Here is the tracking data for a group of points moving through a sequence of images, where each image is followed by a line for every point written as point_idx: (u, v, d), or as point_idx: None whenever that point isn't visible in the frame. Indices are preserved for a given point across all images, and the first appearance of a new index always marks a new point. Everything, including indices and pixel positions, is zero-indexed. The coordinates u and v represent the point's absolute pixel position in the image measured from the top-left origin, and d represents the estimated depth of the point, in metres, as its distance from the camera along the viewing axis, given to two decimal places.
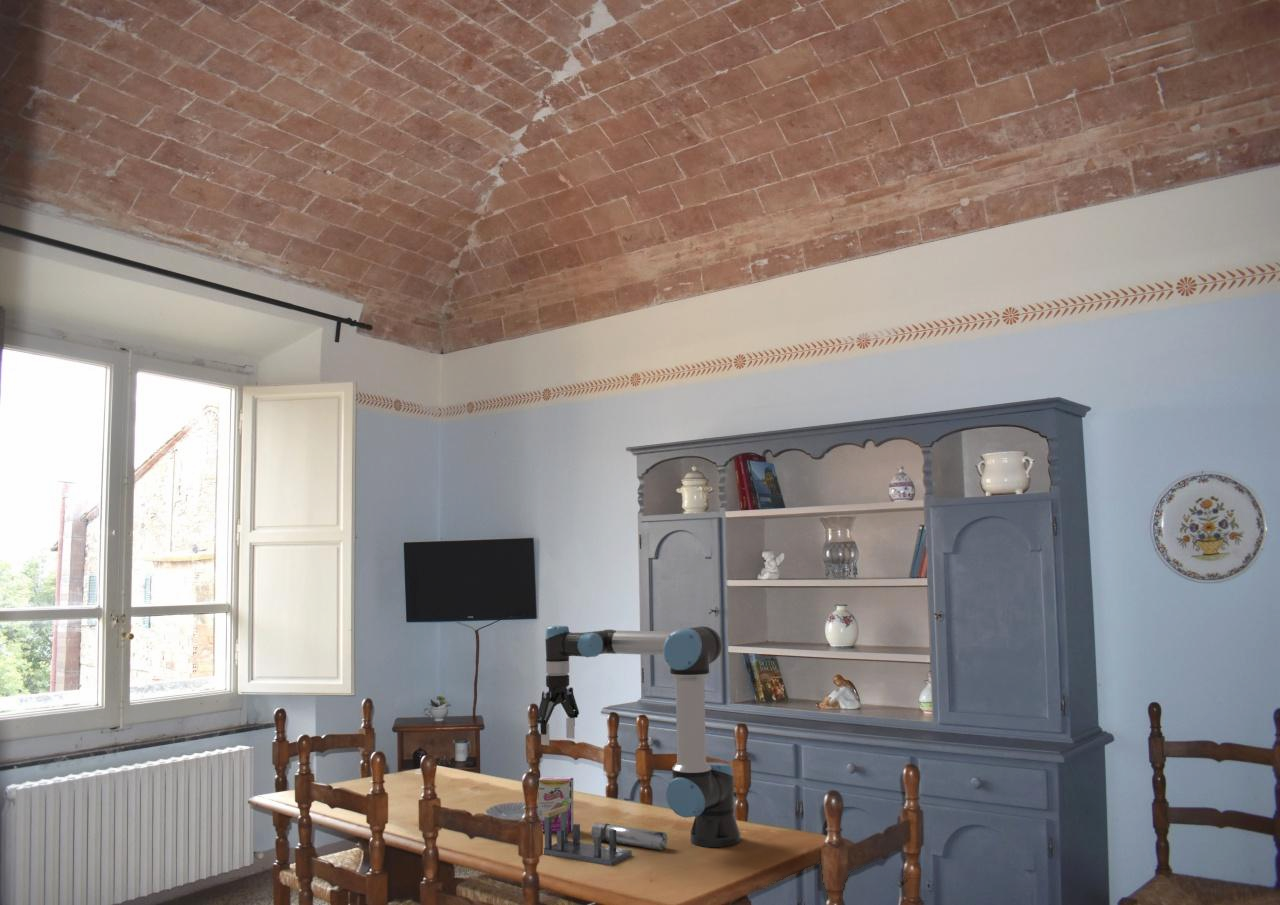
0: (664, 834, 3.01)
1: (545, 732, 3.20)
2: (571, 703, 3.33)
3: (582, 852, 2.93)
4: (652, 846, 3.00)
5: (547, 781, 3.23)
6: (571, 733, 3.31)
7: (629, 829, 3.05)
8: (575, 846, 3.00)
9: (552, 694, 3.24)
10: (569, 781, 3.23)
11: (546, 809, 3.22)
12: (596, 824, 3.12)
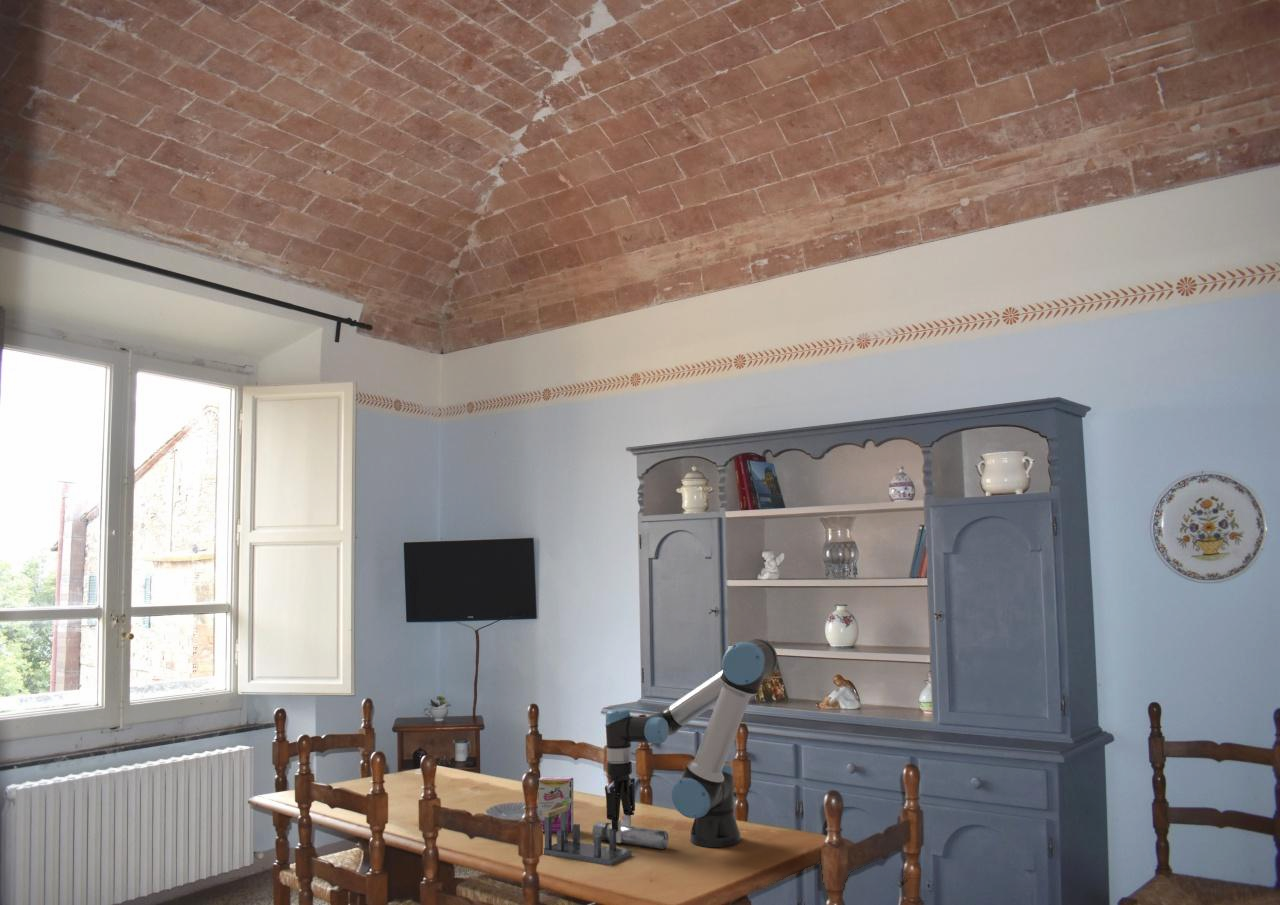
0: (666, 833, 3.02)
1: (617, 829, 3.05)
2: (629, 796, 3.13)
3: (582, 852, 2.93)
4: (653, 843, 3.00)
5: (547, 781, 3.23)
6: None
7: (631, 827, 3.06)
8: (575, 846, 3.00)
9: (615, 785, 3.06)
10: (569, 781, 3.23)
11: (546, 809, 3.22)
12: (598, 822, 3.13)
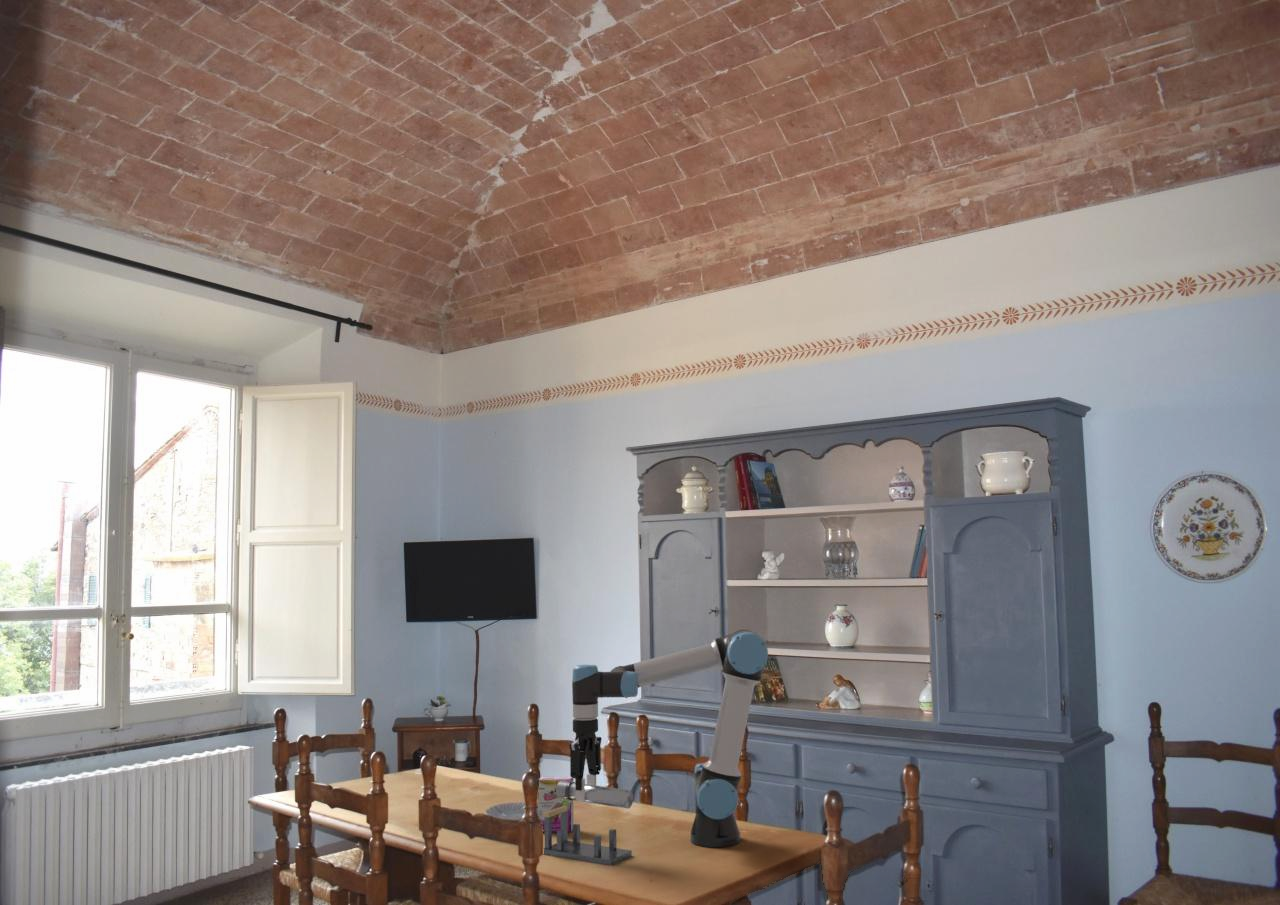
0: (631, 793, 2.91)
1: (580, 788, 2.95)
2: (595, 755, 3.03)
3: (582, 852, 2.93)
4: (617, 802, 2.89)
5: (547, 781, 3.23)
6: None
7: (595, 786, 2.96)
8: (575, 846, 3.00)
9: (580, 742, 2.96)
10: (569, 781, 3.23)
11: (546, 809, 3.22)
12: (562, 781, 3.02)
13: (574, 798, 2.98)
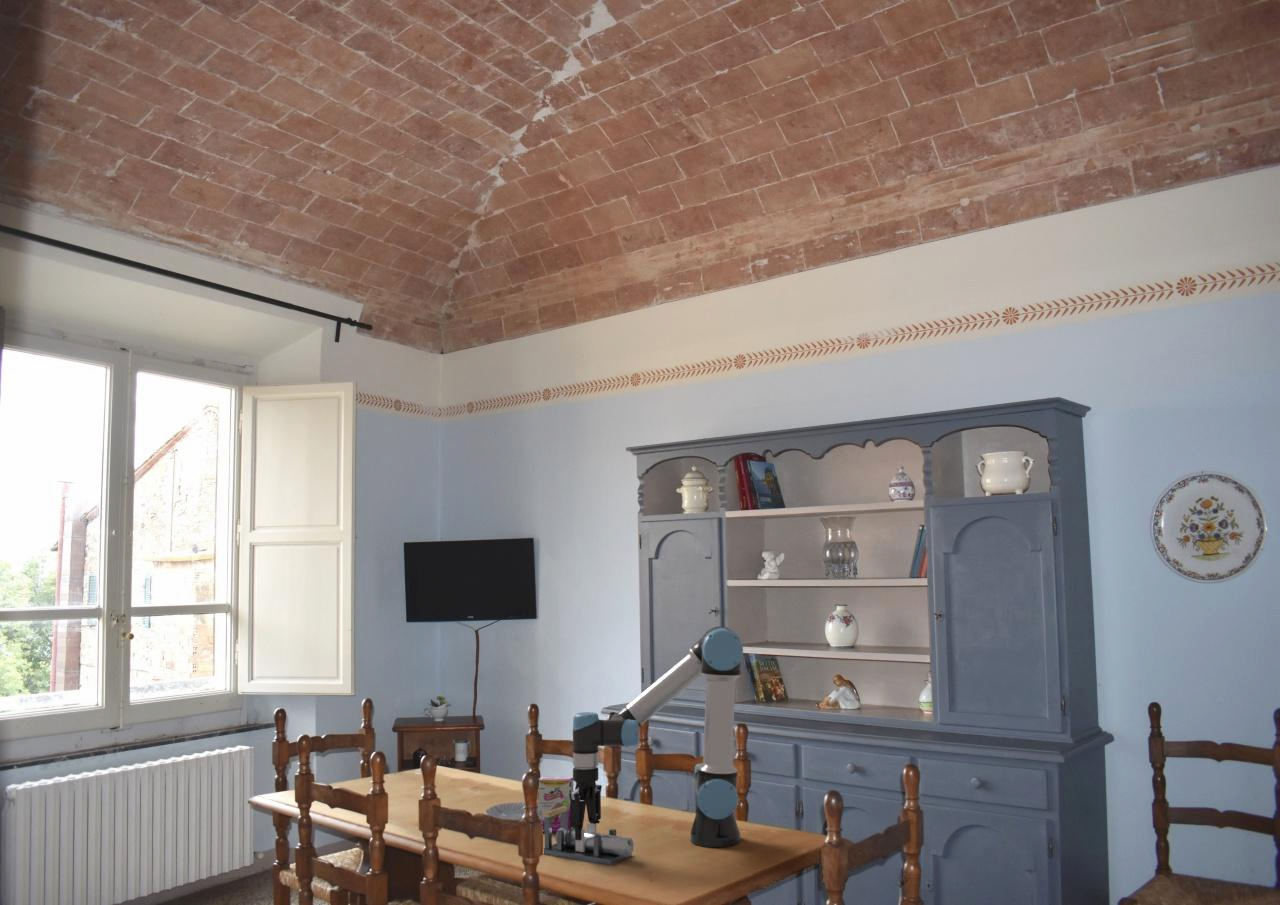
0: (631, 841, 2.90)
1: (580, 838, 2.93)
2: (595, 803, 3.02)
3: (582, 852, 2.93)
4: (617, 851, 2.88)
5: (547, 781, 3.23)
6: None
7: (595, 834, 2.94)
8: None
9: (580, 791, 2.94)
10: (569, 781, 3.23)
11: (546, 809, 3.22)
12: (562, 828, 3.01)
13: (574, 846, 2.96)
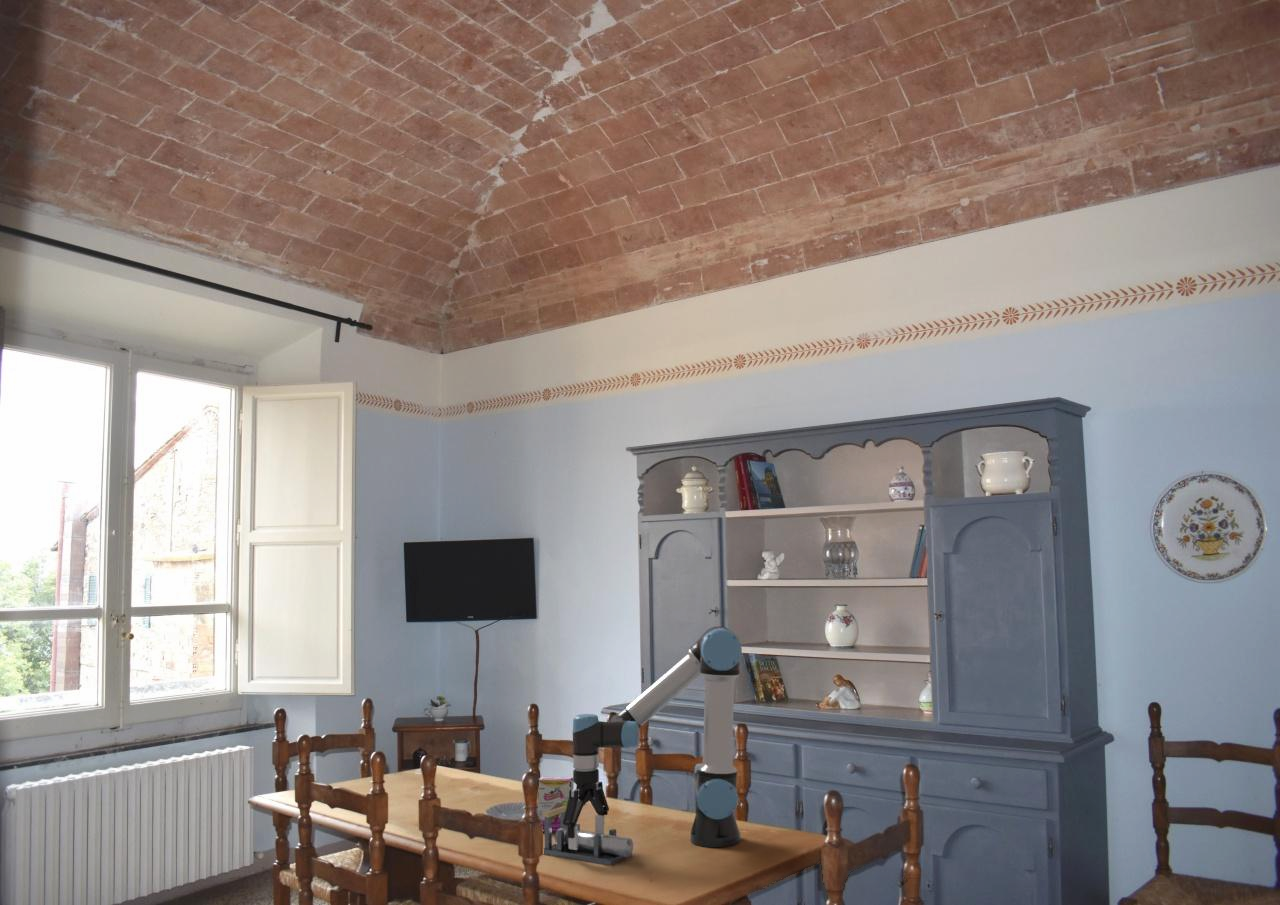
0: (630, 840, 2.90)
1: (573, 835, 2.90)
2: (600, 799, 3.04)
3: (582, 852, 2.93)
4: (617, 852, 2.88)
5: (547, 781, 3.23)
6: (601, 833, 3.02)
7: (594, 834, 2.94)
8: None
9: (580, 792, 2.94)
10: (569, 781, 3.23)
11: (546, 809, 3.22)
12: (561, 829, 3.00)
13: None
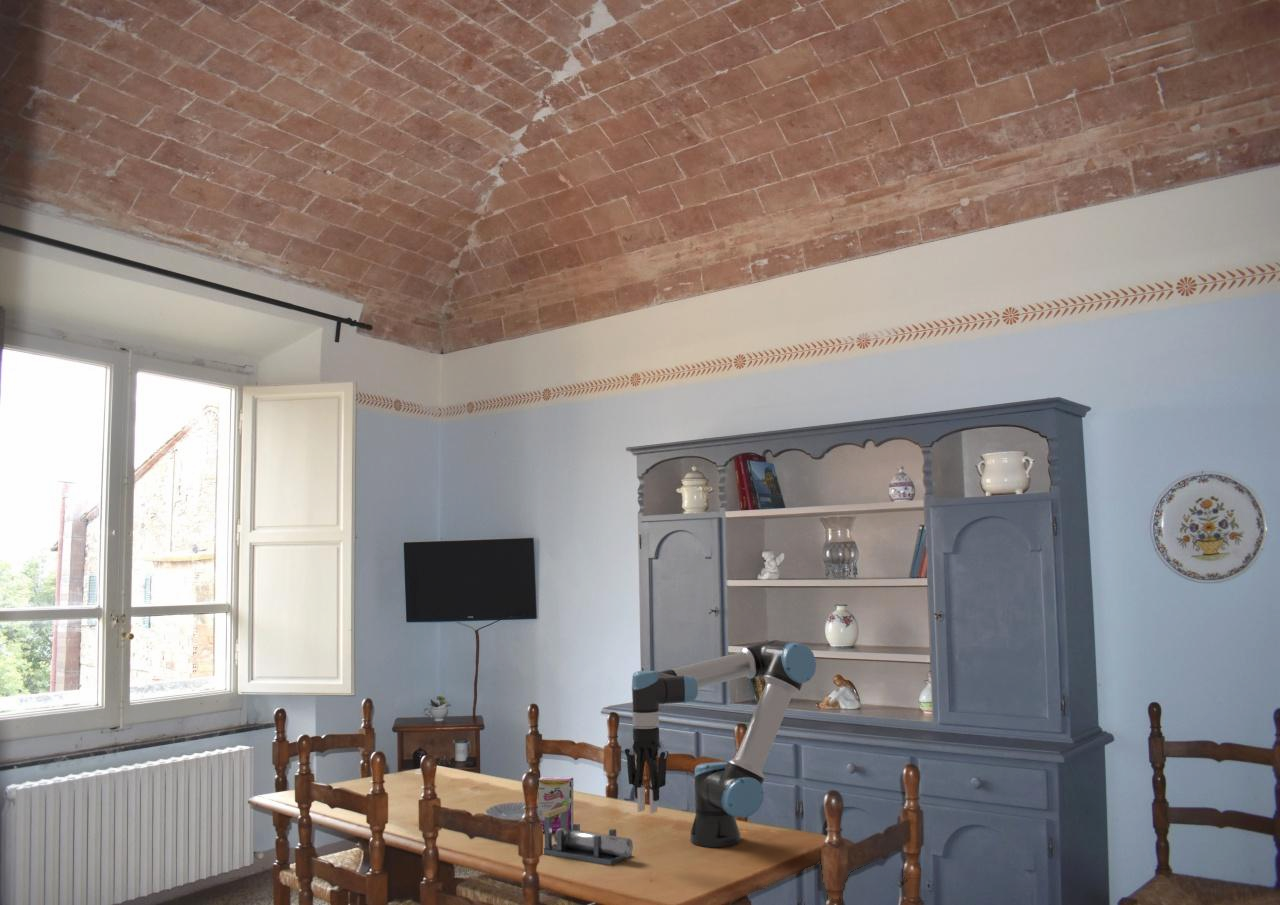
0: (629, 840, 2.89)
1: (637, 796, 2.88)
2: None
3: (582, 852, 2.93)
4: (616, 852, 2.88)
5: (547, 781, 3.23)
6: None
7: (593, 835, 2.94)
8: None
9: (633, 748, 2.90)
10: (569, 781, 3.23)
11: (546, 809, 3.22)
12: (560, 829, 3.00)
13: (574, 847, 2.96)
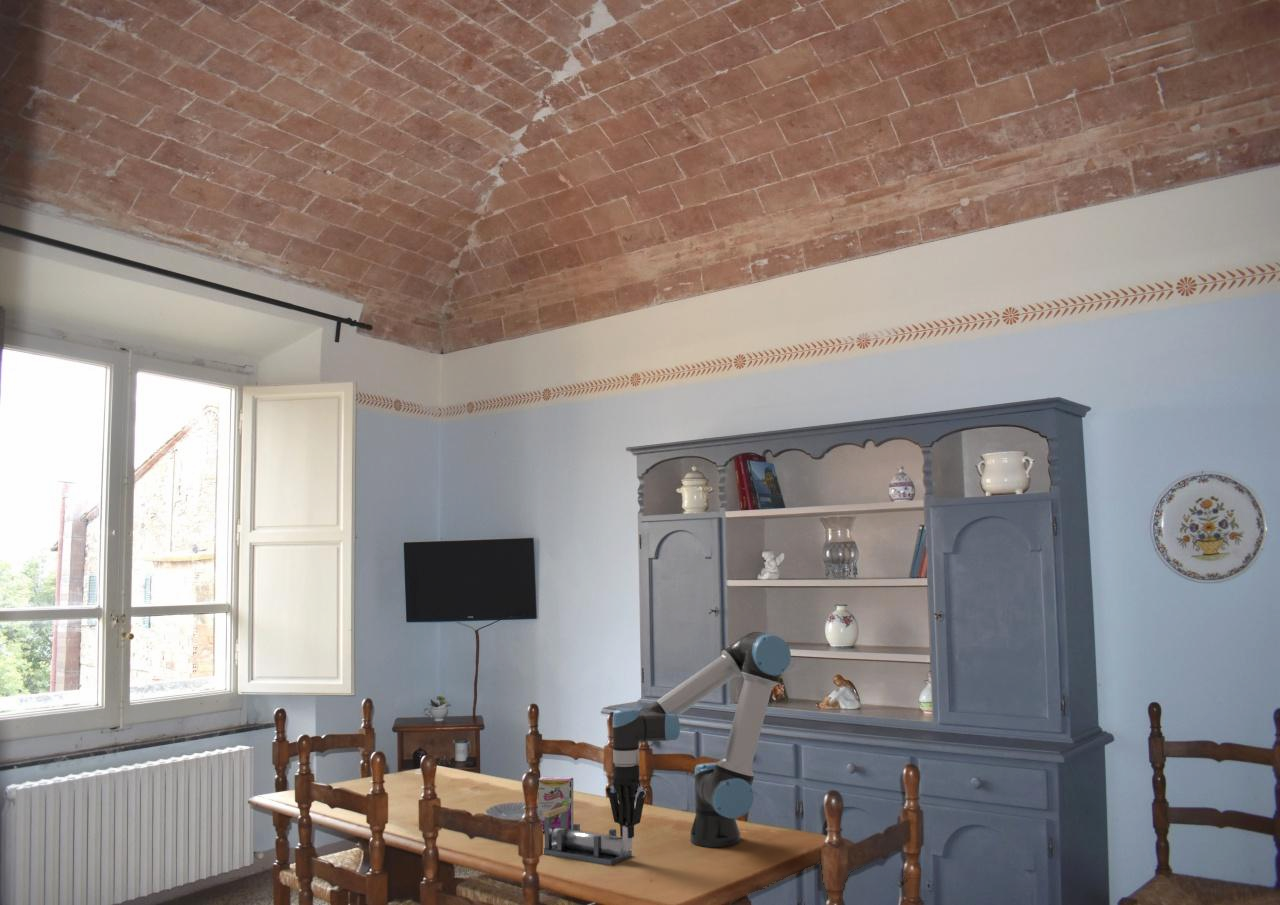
0: None
1: (622, 834, 2.89)
2: None
3: (582, 852, 2.93)
4: (613, 852, 2.88)
5: (547, 781, 3.23)
6: None
7: (590, 834, 2.94)
8: None
9: (614, 786, 2.92)
10: (569, 781, 3.23)
11: (546, 809, 3.22)
12: (556, 829, 3.01)
13: (570, 847, 2.96)
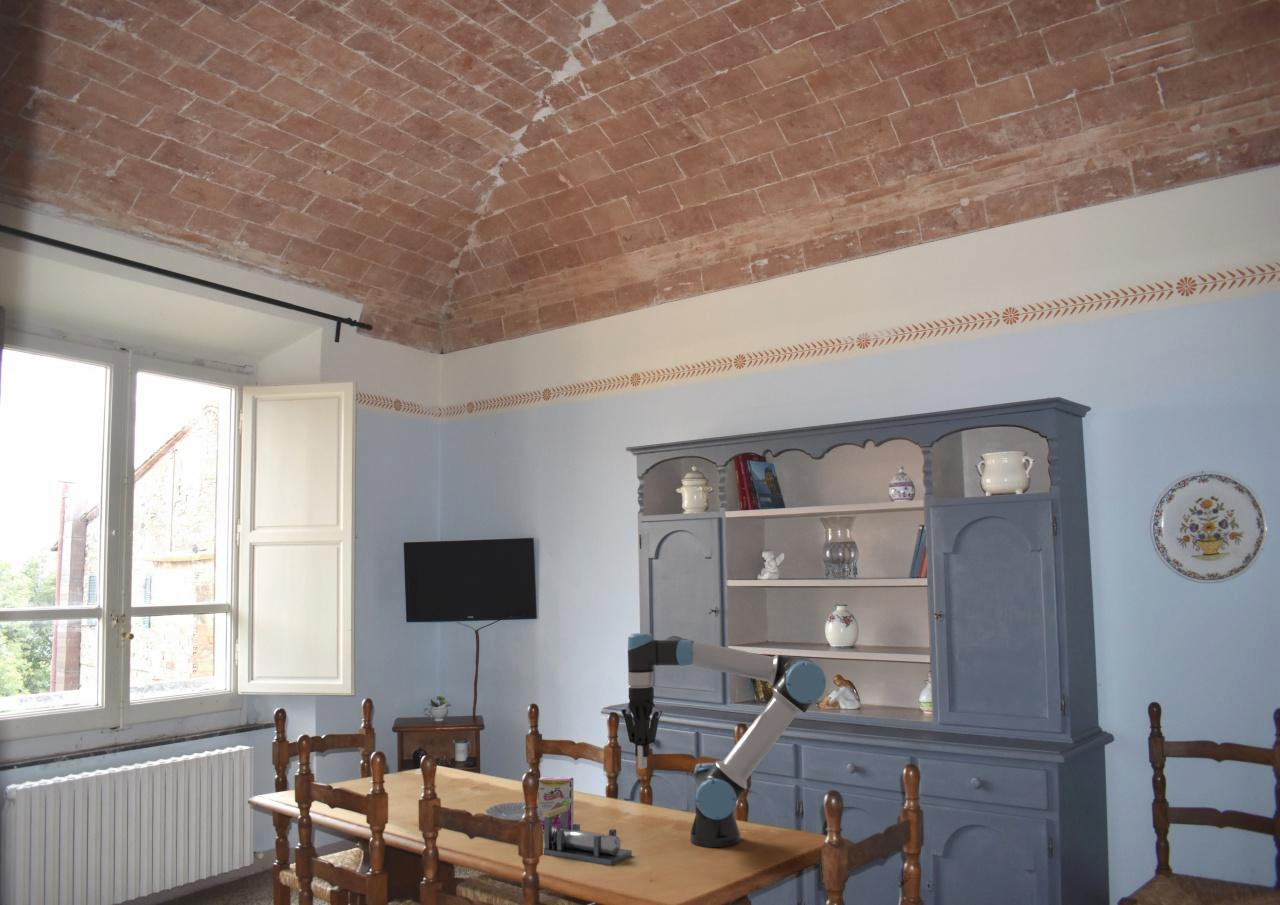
0: (617, 838, 2.91)
1: (637, 754, 3.00)
2: None
3: (582, 852, 2.93)
4: (604, 851, 2.90)
5: (547, 781, 3.23)
6: None
7: (581, 833, 2.96)
8: None
9: (629, 708, 3.02)
10: (569, 781, 3.23)
11: (546, 809, 3.22)
12: None
13: None
